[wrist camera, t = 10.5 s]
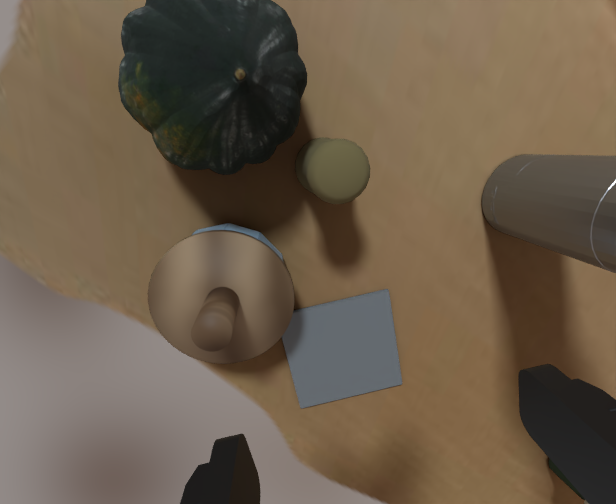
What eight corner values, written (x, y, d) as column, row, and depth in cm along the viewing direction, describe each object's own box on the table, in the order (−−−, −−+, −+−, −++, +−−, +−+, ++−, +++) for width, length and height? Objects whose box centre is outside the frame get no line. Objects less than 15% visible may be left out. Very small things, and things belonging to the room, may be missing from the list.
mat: (387, 288, 41) (388, 290, 40) (400, 381, 45) (402, 384, 45) (276, 314, 41) (276, 316, 40) (300, 405, 45) (300, 408, 44)
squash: (60, 21, 26) (80, 121, 18) (216, -98, 25) (308, -48, 17) (180, 145, 38) (224, 237, 30) (288, 67, 37) (361, 141, 29)
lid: (276, 215, 31) (276, 232, 25) (306, 341, 36) (313, 384, 29) (130, 247, 31) (90, 274, 24) (178, 371, 35) (155, 422, 29)
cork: (322, 206, 37) (339, 227, 27) (283, 166, 36) (286, 173, 25) (361, 167, 36) (396, 173, 26) (324, 124, 35) (344, 113, 24)
